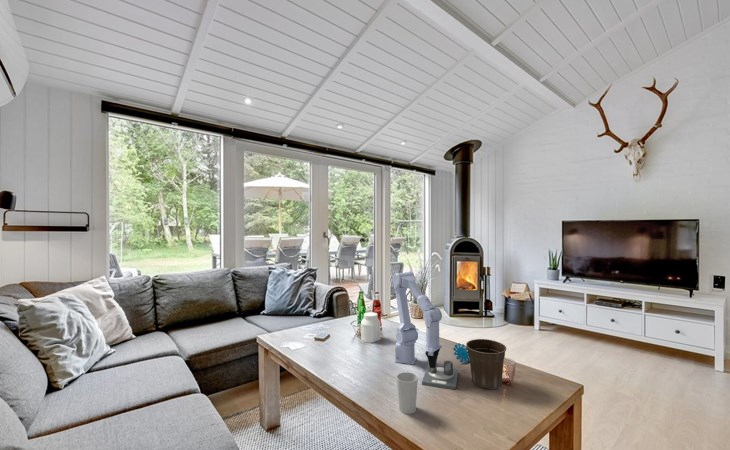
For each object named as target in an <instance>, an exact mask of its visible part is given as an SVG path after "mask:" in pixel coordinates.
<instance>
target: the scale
mask: <svg viewBox="0 0 730 450" xmlns="http://www.w3.org/2000/svg"><path fill="white" fill-rule="evenodd" d="M458 378H459V370H458V369H453V375H451V376H447V375H445V374H444V366H442V367H441V366H437V372H435V373H431V372H429V371H428V366H427V367H426V370H425V372H424V376H423V377H422V380H421V385H422V386H430V387H435V388H441V389H442V388H443V389H447V390H449V389H450V390H457V383H458Z"/></svg>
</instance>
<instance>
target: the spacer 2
mask: <svg viewBox="0 0 730 450" xmlns="http://www.w3.org/2000/svg"><path fill="white" fill-rule="evenodd" d="M443 368H444V374H445V375H447V376H451V375H453V370H454V362H453V361H452V360H444V361H443Z"/></svg>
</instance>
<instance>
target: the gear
mask: <svg viewBox="0 0 730 450" xmlns="http://www.w3.org/2000/svg"><path fill="white" fill-rule="evenodd" d="M465 346H466V344H461V343H460V342H459V343H456V344H454V347H453V349H452V350H453V351H454V352H453V355H454V356H455V357H456V360H459V359H460V360H459V362H460V363H464V364H467V363H470V358H469V354H468V348H467V346H466V347H465Z"/></svg>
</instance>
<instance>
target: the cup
mask: <svg viewBox="0 0 730 450" xmlns="http://www.w3.org/2000/svg"><path fill="white" fill-rule="evenodd" d="M418 381H419V377H418V375H417V374H415V373H413V372H410V371H404V372H403V371H402V372H399V373H397V375H396V389H397V397H398V398H397V399H398V400H397V401H398V410H399V412H400V413H403V414H406V415H410V414H414V413H415V412H416V410H417V395H418V394H417V393H418Z"/></svg>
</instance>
